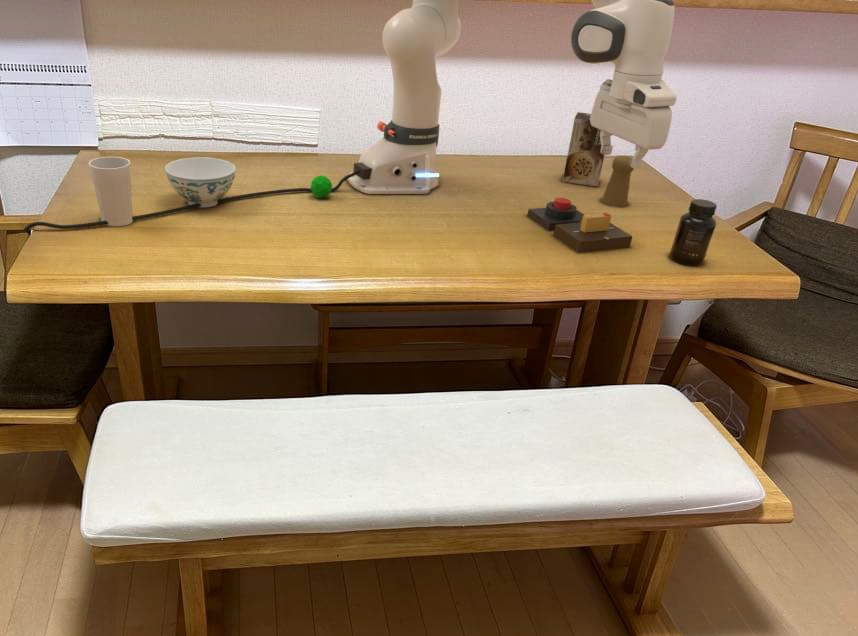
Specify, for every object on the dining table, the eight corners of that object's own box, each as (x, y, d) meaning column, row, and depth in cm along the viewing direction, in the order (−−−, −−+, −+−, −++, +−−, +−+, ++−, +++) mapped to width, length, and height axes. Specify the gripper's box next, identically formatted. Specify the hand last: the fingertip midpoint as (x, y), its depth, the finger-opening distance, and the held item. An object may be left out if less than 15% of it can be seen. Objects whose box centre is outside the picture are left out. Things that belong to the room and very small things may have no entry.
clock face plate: (578, 253, 155) (581, 241, 153) (552, 235, 163) (554, 223, 161) (630, 248, 159) (633, 236, 158) (602, 230, 167) (605, 218, 165)
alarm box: (548, 230, 165) (551, 215, 163) (527, 216, 172) (529, 201, 170) (590, 226, 168) (593, 211, 166) (568, 212, 175) (571, 197, 173)
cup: (101, 229, 152) (92, 170, 145) (93, 216, 157) (84, 158, 150) (141, 224, 155) (134, 166, 148) (132, 211, 160) (125, 154, 154)
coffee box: (599, 180, 196) (614, 116, 187) (597, 187, 191) (612, 122, 182) (564, 174, 199) (577, 111, 189) (561, 181, 194) (574, 116, 184)
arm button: (558, 211, 166) (560, 203, 165) (550, 205, 169) (551, 198, 168) (572, 210, 167) (574, 202, 166) (563, 204, 170) (565, 197, 169)
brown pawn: (627, 208, 180) (640, 161, 173) (602, 205, 181) (613, 158, 174) (625, 199, 185) (637, 154, 178) (600, 196, 185) (611, 151, 179)
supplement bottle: (710, 262, 155) (729, 206, 148) (689, 268, 152) (707, 211, 145) (683, 250, 160) (700, 195, 153) (661, 256, 156) (678, 199, 149)
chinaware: (250, 204, 168) (249, 169, 164) (195, 219, 159) (192, 183, 154) (209, 186, 176) (207, 153, 172) (154, 200, 167) (151, 165, 162)
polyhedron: (314, 201, 172) (314, 180, 169) (307, 194, 175) (307, 173, 173) (334, 199, 173) (335, 179, 171) (327, 192, 177) (328, 172, 174)
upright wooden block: (584, 232, 158) (587, 217, 156) (579, 229, 159) (583, 214, 157) (607, 230, 160) (611, 214, 158) (603, 227, 161) (607, 212, 159)
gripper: (590, 77, 151) (577, 147, 159) (654, 99, 135) (637, 176, 143) (616, 76, 153) (602, 145, 161) (683, 98, 137) (664, 173, 145)
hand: (619, 160), depth 152 cm, fingers open, 8 cm apart
